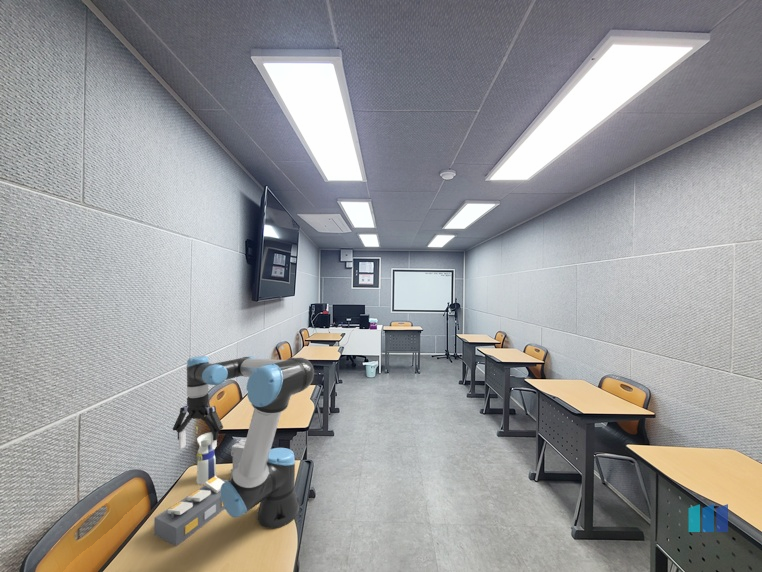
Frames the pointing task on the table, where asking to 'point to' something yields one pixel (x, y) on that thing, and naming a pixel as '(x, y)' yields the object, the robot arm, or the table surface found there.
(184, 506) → the rocker
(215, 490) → the rocker
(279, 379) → the robot arm
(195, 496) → the block
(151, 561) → the table surface
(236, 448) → the circuit breaker
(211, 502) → the panel
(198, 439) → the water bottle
